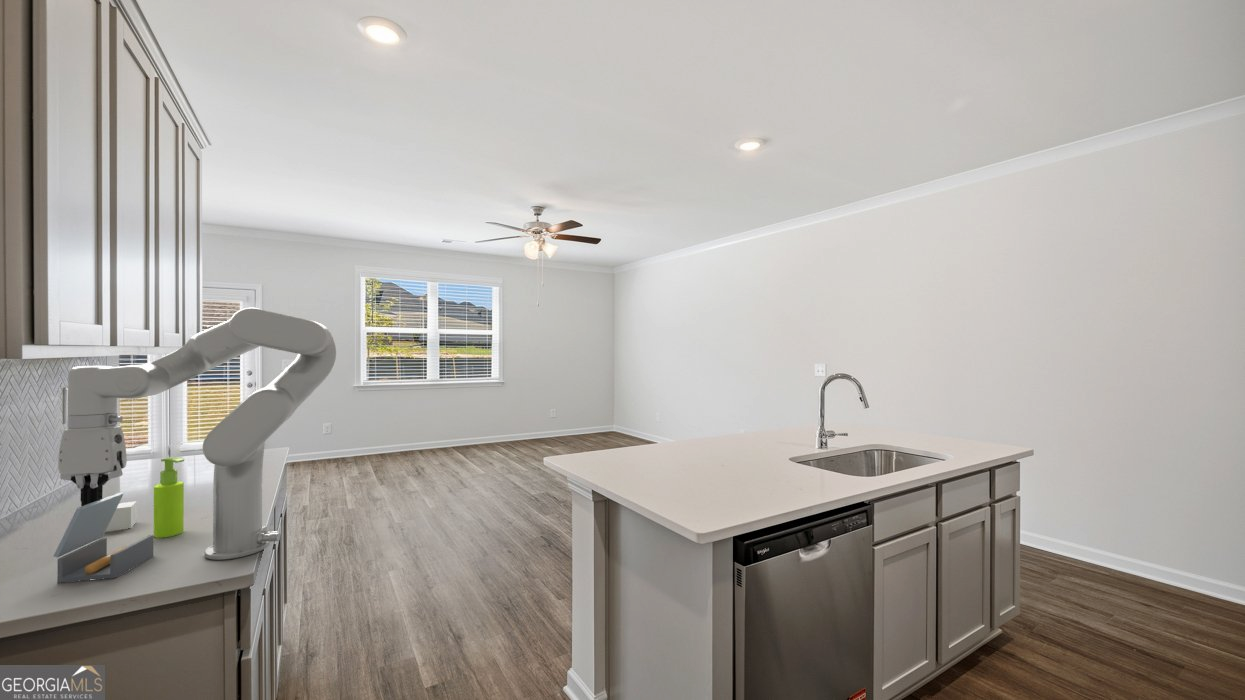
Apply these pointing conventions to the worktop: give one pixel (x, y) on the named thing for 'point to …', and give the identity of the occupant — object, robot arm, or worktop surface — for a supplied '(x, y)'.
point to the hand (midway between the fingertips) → (91, 504)
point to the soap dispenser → (168, 502)
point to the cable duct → (102, 560)
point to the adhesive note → (123, 516)
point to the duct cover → (88, 524)
